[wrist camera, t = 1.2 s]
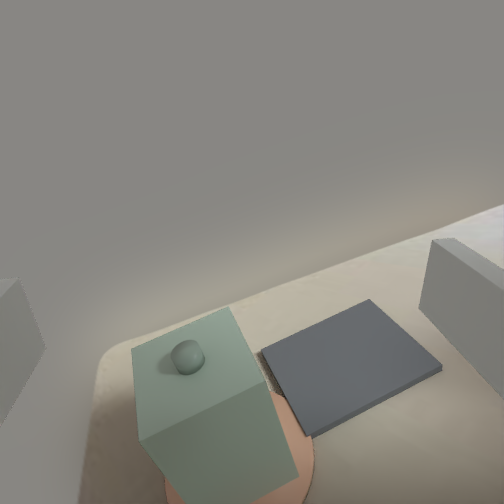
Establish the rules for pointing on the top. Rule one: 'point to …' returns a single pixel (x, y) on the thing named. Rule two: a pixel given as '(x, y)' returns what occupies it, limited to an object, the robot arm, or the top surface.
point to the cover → (209, 414)
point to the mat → (346, 366)
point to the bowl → (293, 493)
